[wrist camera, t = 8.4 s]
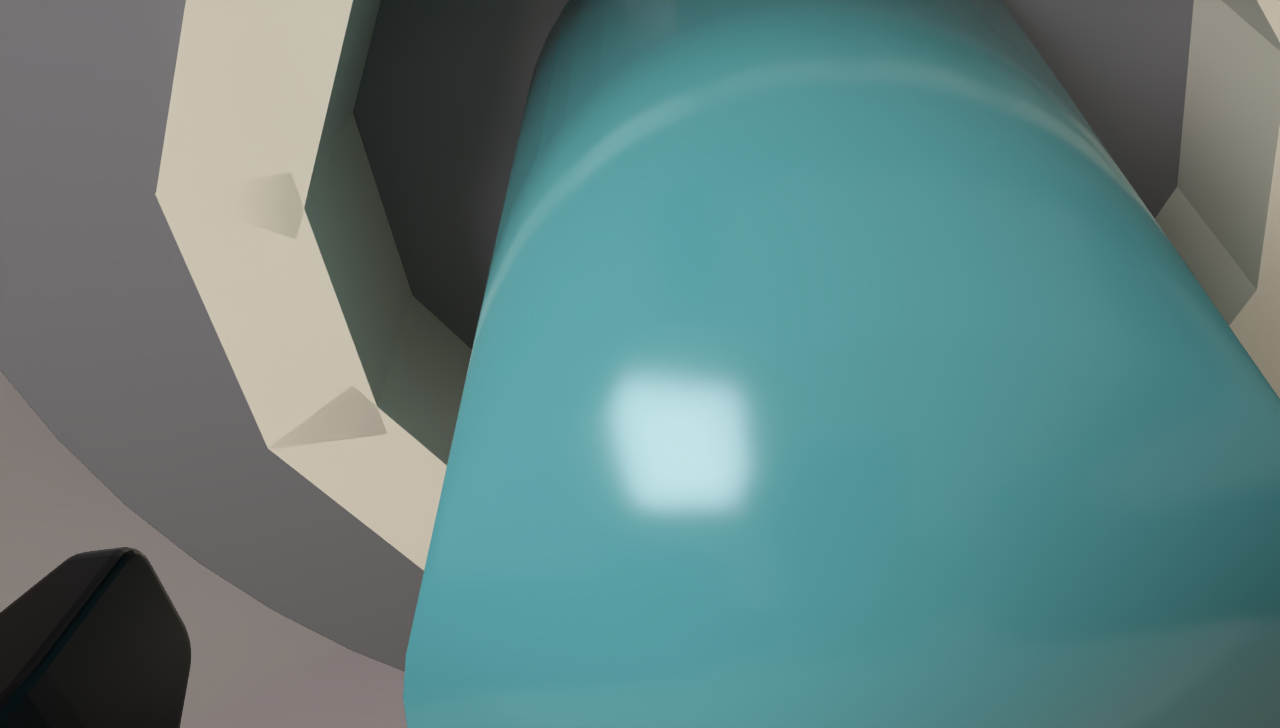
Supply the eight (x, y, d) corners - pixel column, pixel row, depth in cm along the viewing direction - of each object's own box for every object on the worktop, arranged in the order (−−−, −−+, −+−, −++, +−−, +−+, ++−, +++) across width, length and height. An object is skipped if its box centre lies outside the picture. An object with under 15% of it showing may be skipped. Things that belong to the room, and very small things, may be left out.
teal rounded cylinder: (1035, -160, 10) (1494, 252, 5) (1028, 322, 13) (1311, 943, 8) (467, -60, 11) (263, 419, 5) (579, 383, 14) (525, 1005, 8)
